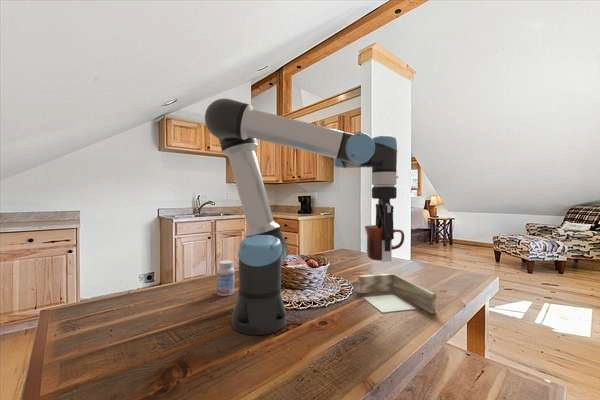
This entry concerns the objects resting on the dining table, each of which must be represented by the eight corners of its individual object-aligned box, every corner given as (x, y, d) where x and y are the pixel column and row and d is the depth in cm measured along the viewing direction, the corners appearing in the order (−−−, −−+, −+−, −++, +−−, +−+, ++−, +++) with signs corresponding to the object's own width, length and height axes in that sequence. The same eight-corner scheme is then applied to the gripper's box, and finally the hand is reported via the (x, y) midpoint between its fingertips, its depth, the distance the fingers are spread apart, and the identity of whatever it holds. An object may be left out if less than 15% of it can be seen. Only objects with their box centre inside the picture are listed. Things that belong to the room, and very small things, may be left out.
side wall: (359, 293, 101) (360, 276, 101) (357, 291, 102) (358, 275, 102) (393, 290, 105) (393, 274, 104) (391, 288, 106) (391, 273, 106)
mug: (363, 260, 86) (362, 227, 86) (366, 254, 94) (366, 224, 94) (404, 263, 82) (404, 229, 82) (404, 257, 90) (404, 225, 90)
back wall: (431, 313, 85) (431, 294, 85) (391, 289, 106) (391, 273, 105) (435, 312, 86) (435, 293, 86) (394, 289, 106) (395, 273, 106)
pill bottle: (213, 295, 96) (213, 263, 96) (222, 289, 102) (222, 259, 102) (229, 297, 95) (229, 264, 95) (237, 291, 101) (237, 260, 100)
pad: (382, 313, 85) (382, 312, 85) (363, 298, 96) (363, 297, 96) (415, 309, 88) (415, 308, 88) (393, 295, 100) (393, 294, 100)
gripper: (405, 185, 77) (405, 267, 78) (388, 186, 98) (388, 251, 98) (378, 185, 78) (378, 266, 79) (366, 186, 98) (366, 250, 99)
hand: (383, 257), depth 89 cm, fingers closed on mug, 7 cm apart
